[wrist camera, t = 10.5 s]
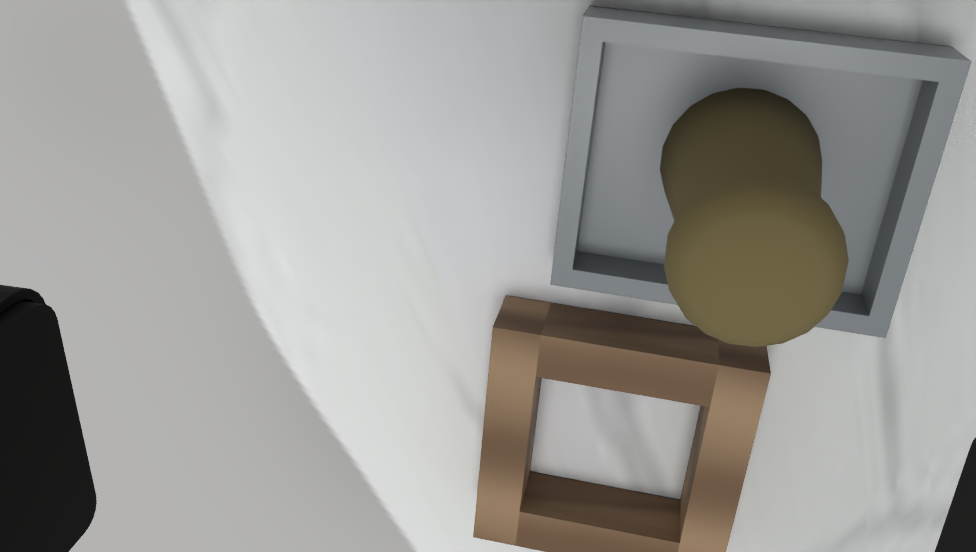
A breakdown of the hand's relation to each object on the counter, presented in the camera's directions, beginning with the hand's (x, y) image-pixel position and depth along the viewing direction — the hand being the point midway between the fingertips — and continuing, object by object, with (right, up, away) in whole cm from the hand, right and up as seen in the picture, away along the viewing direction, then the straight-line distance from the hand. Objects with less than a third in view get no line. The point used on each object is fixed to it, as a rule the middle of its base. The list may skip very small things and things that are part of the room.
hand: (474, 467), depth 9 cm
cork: (+10, +6, +26) cm, 28 cm away
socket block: (+6, -5, +32) cm, 33 cm away
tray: (+10, +6, +26) cm, 29 cm away
